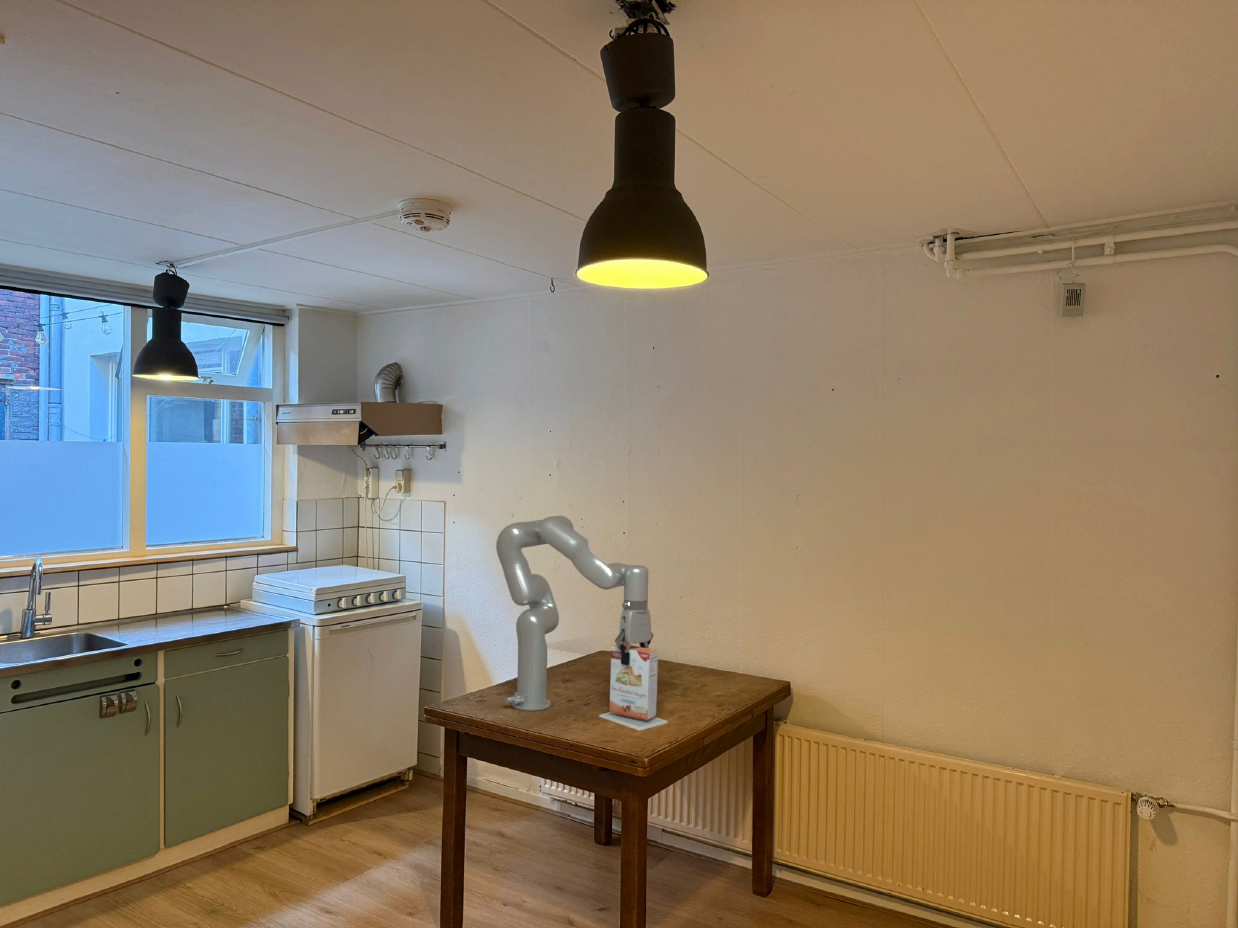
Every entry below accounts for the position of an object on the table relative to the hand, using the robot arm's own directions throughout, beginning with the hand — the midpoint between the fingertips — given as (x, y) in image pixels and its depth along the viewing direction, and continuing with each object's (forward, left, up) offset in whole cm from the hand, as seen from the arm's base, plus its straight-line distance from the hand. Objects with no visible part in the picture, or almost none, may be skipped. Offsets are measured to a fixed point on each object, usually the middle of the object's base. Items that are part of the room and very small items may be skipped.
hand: (633, 662), depth 256 cm
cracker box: (0, 0, -16) cm, 16 cm away
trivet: (0, 0, -18) cm, 18 cm away
